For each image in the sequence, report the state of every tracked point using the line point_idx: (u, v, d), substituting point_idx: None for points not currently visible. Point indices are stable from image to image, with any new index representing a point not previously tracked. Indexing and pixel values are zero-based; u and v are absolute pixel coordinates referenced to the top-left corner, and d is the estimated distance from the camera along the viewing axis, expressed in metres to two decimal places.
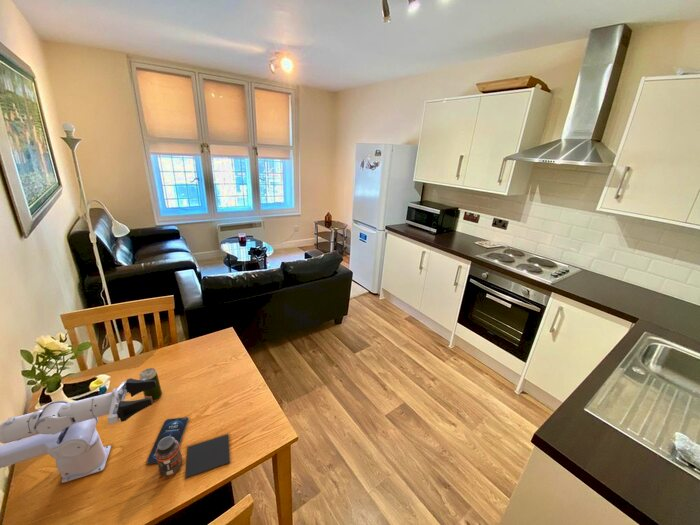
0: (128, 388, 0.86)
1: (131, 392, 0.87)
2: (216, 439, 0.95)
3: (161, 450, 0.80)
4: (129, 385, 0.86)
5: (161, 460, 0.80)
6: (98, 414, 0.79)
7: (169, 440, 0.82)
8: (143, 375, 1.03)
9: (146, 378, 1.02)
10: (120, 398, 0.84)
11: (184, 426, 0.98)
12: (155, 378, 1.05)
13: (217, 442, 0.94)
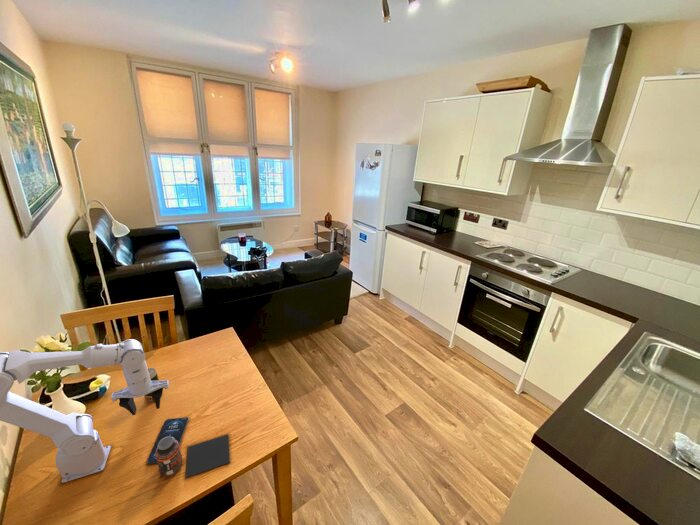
0: None
1: (129, 400, 0.88)
2: (216, 439, 0.95)
3: (161, 450, 0.80)
4: None
5: (161, 460, 0.80)
6: (148, 378, 0.88)
7: (169, 440, 0.82)
8: None
9: None
10: None
11: (184, 426, 0.98)
12: (155, 378, 1.05)
13: (217, 442, 0.94)
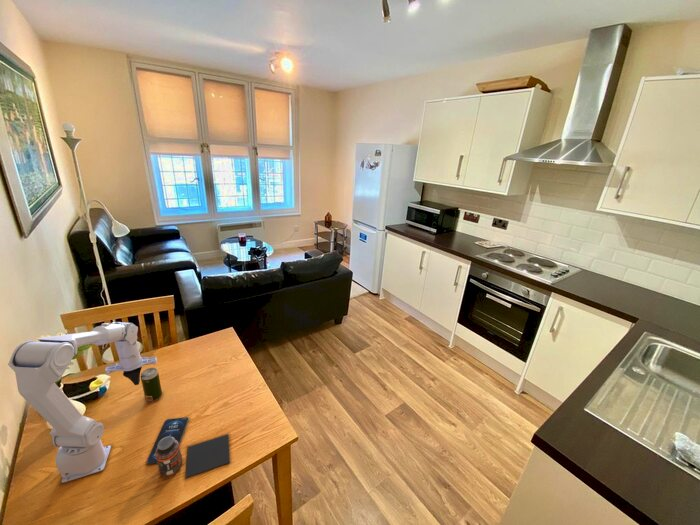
0: None
1: None
2: (216, 439, 0.95)
3: (161, 450, 0.80)
4: None
5: (161, 460, 0.80)
6: (138, 354, 1.00)
7: (169, 440, 0.82)
8: (144, 374, 1.03)
9: (147, 377, 1.02)
10: None
11: (184, 426, 0.98)
12: (156, 378, 1.05)
13: (217, 442, 0.94)
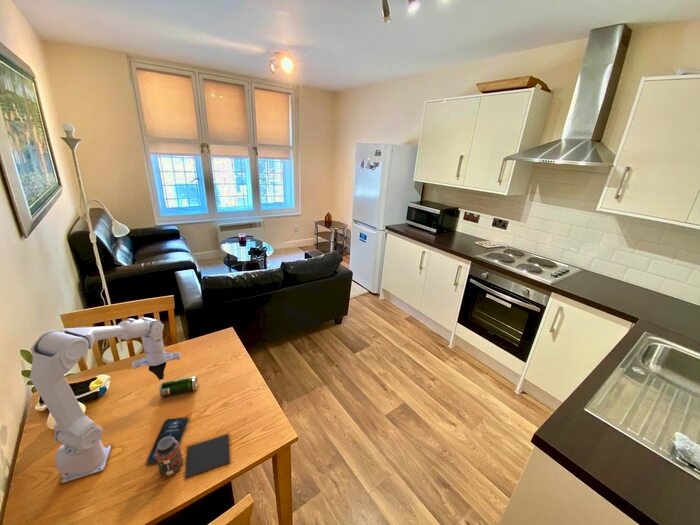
0: None
1: (157, 366, 1.04)
2: (216, 439, 0.95)
3: (161, 450, 0.80)
4: None
5: (161, 460, 0.80)
6: (164, 349, 1.03)
7: (169, 440, 0.82)
8: (195, 382, 1.12)
9: (195, 387, 1.11)
10: None
11: (184, 426, 0.98)
12: None
13: (217, 442, 0.94)
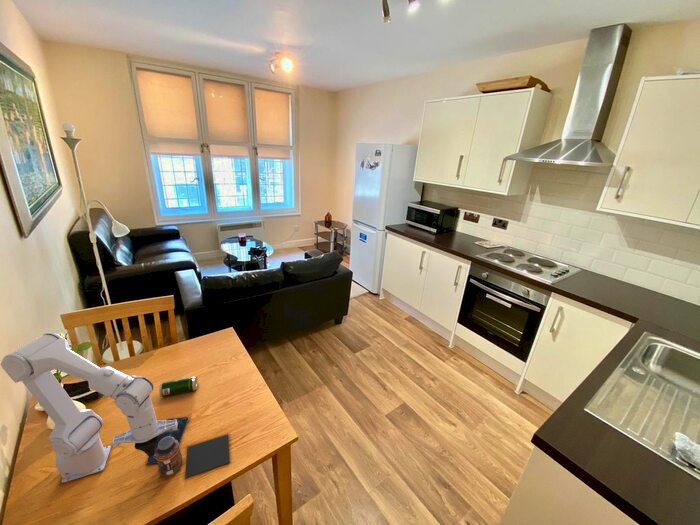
0: None
1: (146, 441, 0.78)
2: (216, 439, 0.95)
3: (161, 450, 0.80)
4: None
5: (161, 460, 0.80)
6: (155, 419, 0.78)
7: (169, 440, 0.82)
8: (195, 382, 1.12)
9: (195, 387, 1.11)
10: None
11: (184, 426, 0.98)
12: None
13: (217, 442, 0.94)
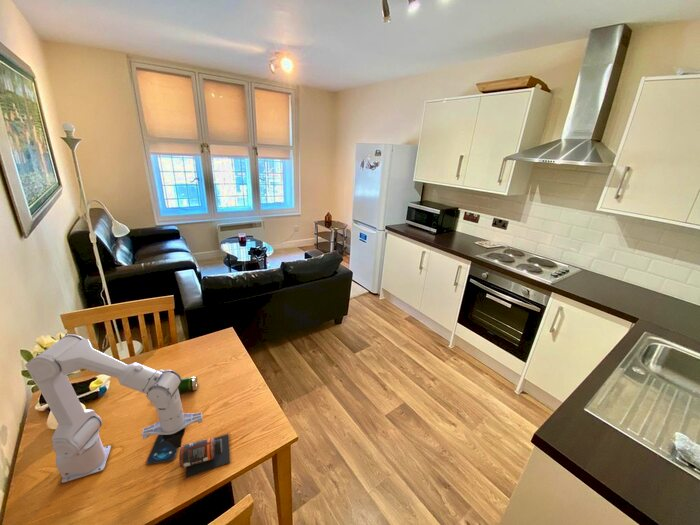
0: None
1: None
2: (216, 439, 0.95)
3: (219, 449, 0.88)
4: None
5: (209, 455, 0.86)
6: (182, 412, 0.80)
7: (221, 446, 0.91)
8: (195, 382, 1.12)
9: (195, 387, 1.11)
10: None
11: None
12: None
13: None
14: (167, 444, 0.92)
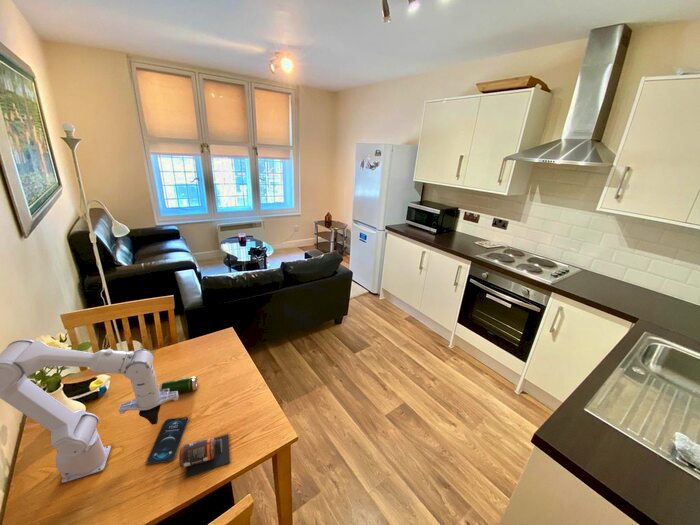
0: None
1: (149, 409, 0.85)
2: (216, 439, 0.95)
3: (219, 449, 0.88)
4: None
5: (209, 455, 0.86)
6: (157, 389, 0.85)
7: (221, 446, 0.91)
8: (195, 382, 1.12)
9: (195, 387, 1.11)
10: None
11: (184, 426, 0.98)
12: None
13: None
14: (167, 444, 0.92)
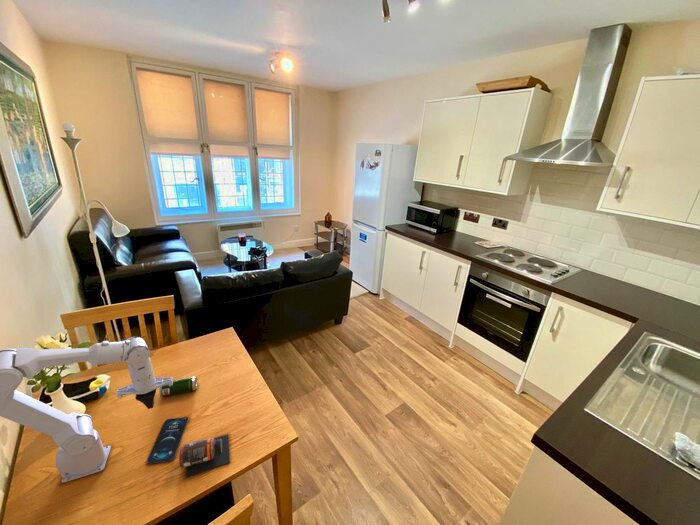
0: None
1: (145, 394, 0.90)
2: (216, 439, 0.95)
3: (219, 449, 0.88)
4: None
5: (209, 455, 0.86)
6: (153, 375, 0.89)
7: (221, 446, 0.91)
8: (195, 382, 1.12)
9: (195, 387, 1.11)
10: None
11: (184, 426, 0.98)
12: None
13: None
14: (167, 444, 0.92)
